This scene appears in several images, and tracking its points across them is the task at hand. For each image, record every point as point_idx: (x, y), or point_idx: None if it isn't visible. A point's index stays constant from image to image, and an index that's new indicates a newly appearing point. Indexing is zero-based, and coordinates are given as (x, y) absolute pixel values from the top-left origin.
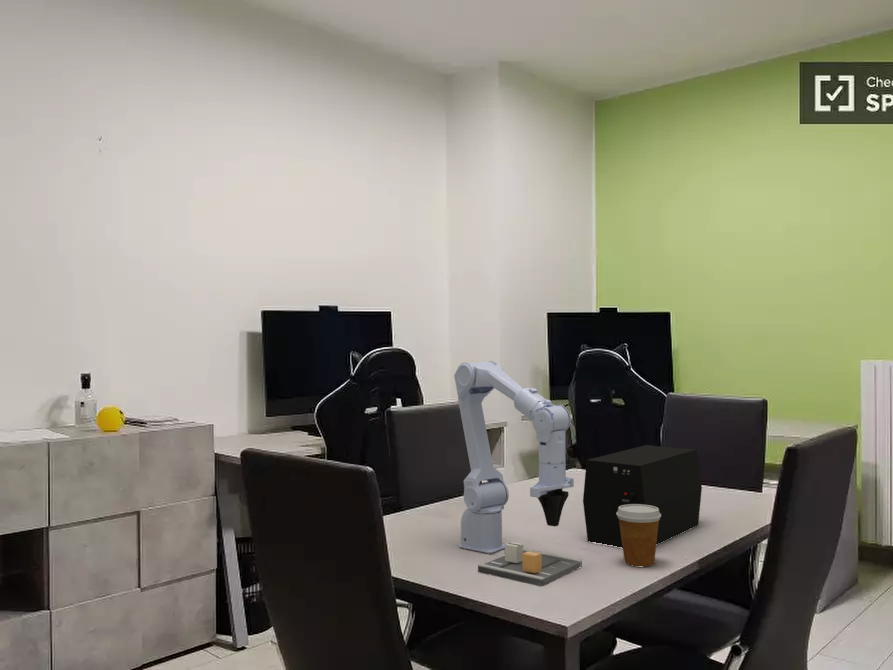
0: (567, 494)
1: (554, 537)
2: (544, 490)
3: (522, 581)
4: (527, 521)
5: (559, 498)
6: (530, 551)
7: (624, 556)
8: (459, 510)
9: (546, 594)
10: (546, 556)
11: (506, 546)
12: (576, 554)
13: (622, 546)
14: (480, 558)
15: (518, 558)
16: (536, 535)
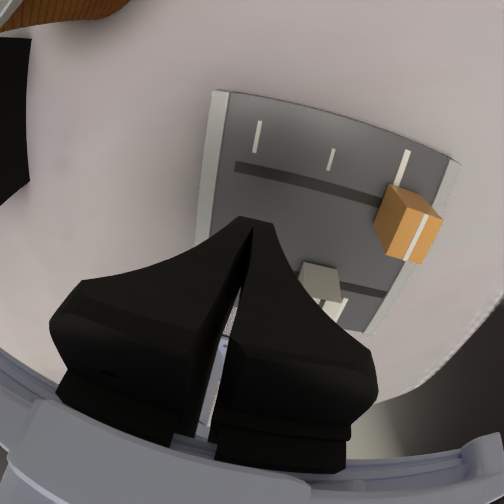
0: (106, 304)
1: (48, 256)
2: (468, 483)
3: None
4: (30, 315)
5: (318, 346)
6: (389, 249)
7: (114, 2)
8: None
9: (497, 136)
10: (215, 216)
11: None
12: (109, 160)
13: (22, 89)
14: None
15: (328, 274)
16: (63, 289)
